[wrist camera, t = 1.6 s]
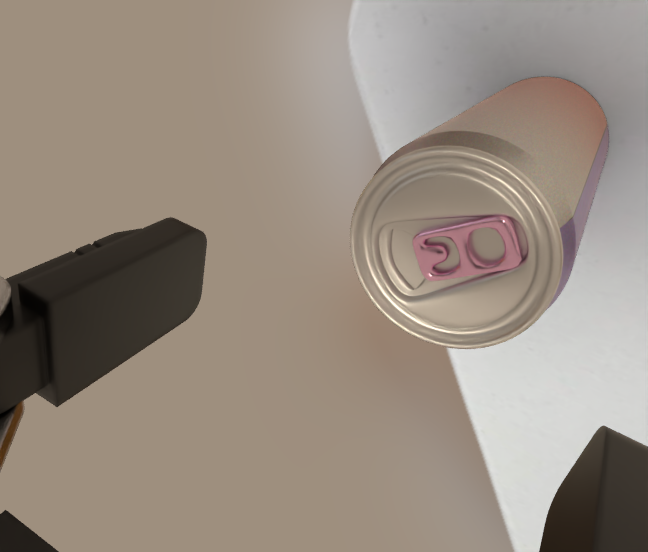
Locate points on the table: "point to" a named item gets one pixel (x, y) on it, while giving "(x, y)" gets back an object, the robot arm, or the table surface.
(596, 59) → the table surface
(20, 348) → the robot arm
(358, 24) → the table surface
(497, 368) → the table surface
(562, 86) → the beverage can
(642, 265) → the table surface
